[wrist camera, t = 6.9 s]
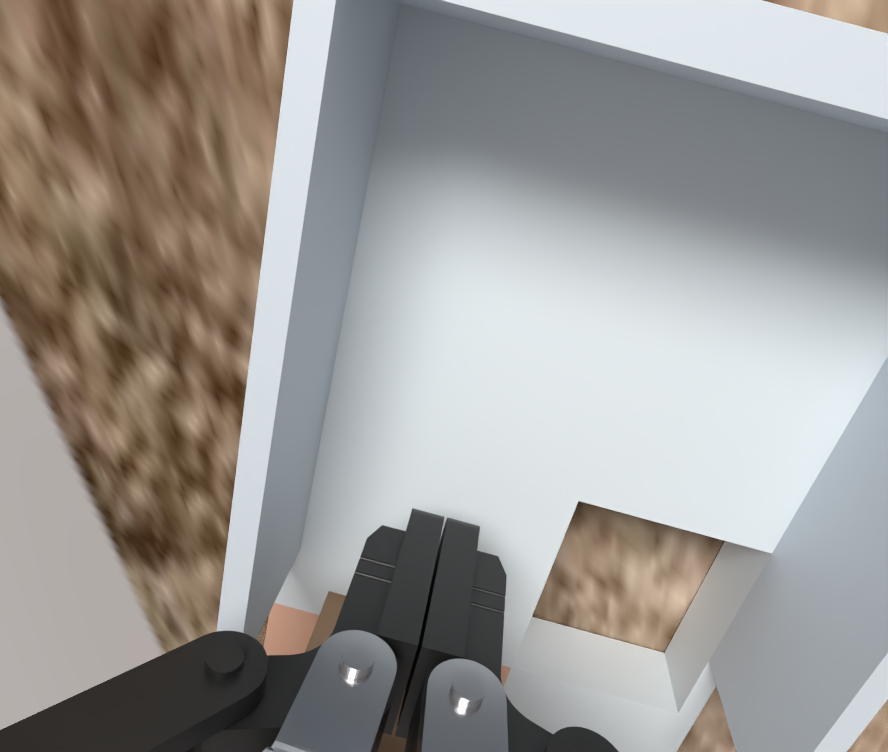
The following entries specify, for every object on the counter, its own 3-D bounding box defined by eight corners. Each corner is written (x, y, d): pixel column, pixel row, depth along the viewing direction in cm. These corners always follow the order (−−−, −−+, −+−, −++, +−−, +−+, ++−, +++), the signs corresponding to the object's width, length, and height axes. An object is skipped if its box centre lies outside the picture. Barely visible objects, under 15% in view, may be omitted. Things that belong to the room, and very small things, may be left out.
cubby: (984, 114, 13) (1319, 147, 7) (631, 745, 21) (666, 981, 16) (402, -41, 13) (307, -121, 7) (278, 648, 21) (189, 849, 16)
